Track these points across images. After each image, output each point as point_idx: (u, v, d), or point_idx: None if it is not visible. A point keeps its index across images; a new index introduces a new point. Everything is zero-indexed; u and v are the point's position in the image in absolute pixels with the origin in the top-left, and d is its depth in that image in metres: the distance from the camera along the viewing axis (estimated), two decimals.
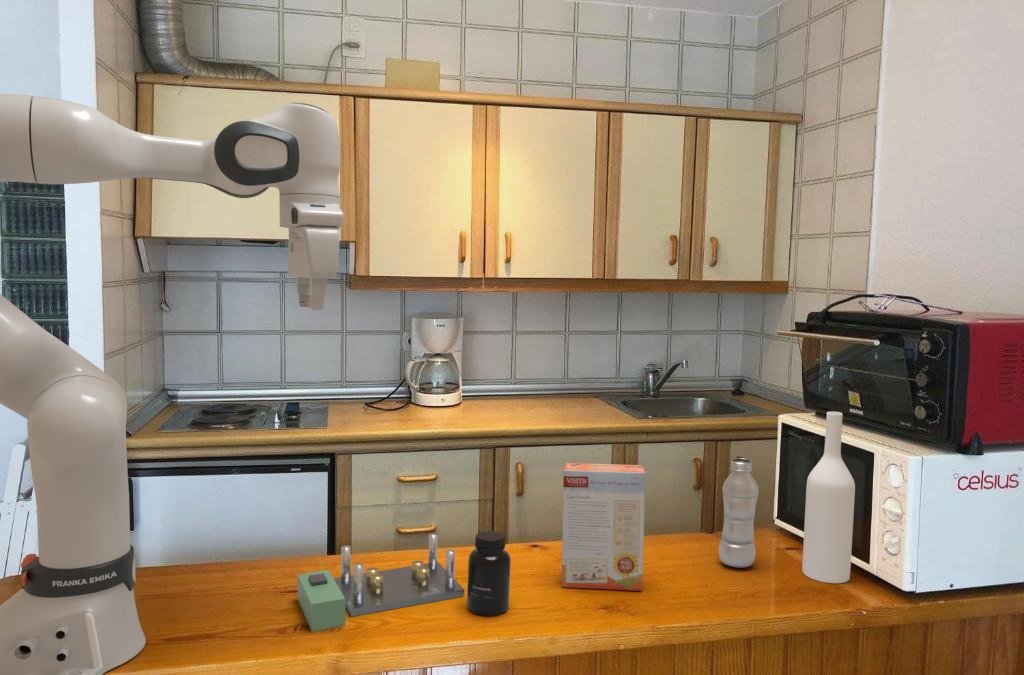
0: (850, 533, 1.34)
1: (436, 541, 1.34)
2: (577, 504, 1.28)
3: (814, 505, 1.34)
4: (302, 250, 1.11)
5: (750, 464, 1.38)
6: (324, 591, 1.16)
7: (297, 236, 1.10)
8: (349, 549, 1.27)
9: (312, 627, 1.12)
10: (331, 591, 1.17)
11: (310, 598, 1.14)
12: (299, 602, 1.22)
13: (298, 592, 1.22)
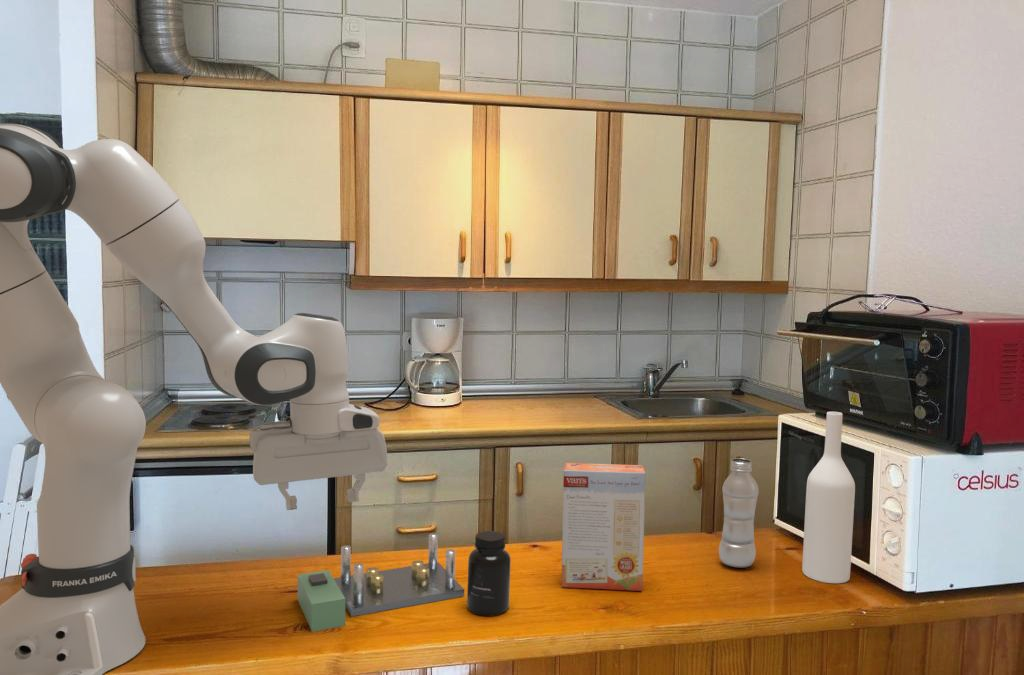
0: (850, 533, 1.34)
1: (436, 541, 1.34)
2: (577, 504, 1.28)
3: (814, 505, 1.34)
4: (336, 451, 1.16)
5: (750, 464, 1.38)
6: (324, 591, 1.16)
7: (337, 439, 1.15)
8: (349, 549, 1.27)
9: (312, 627, 1.12)
10: (331, 591, 1.17)
11: (310, 598, 1.14)
12: (299, 602, 1.22)
13: (298, 592, 1.22)
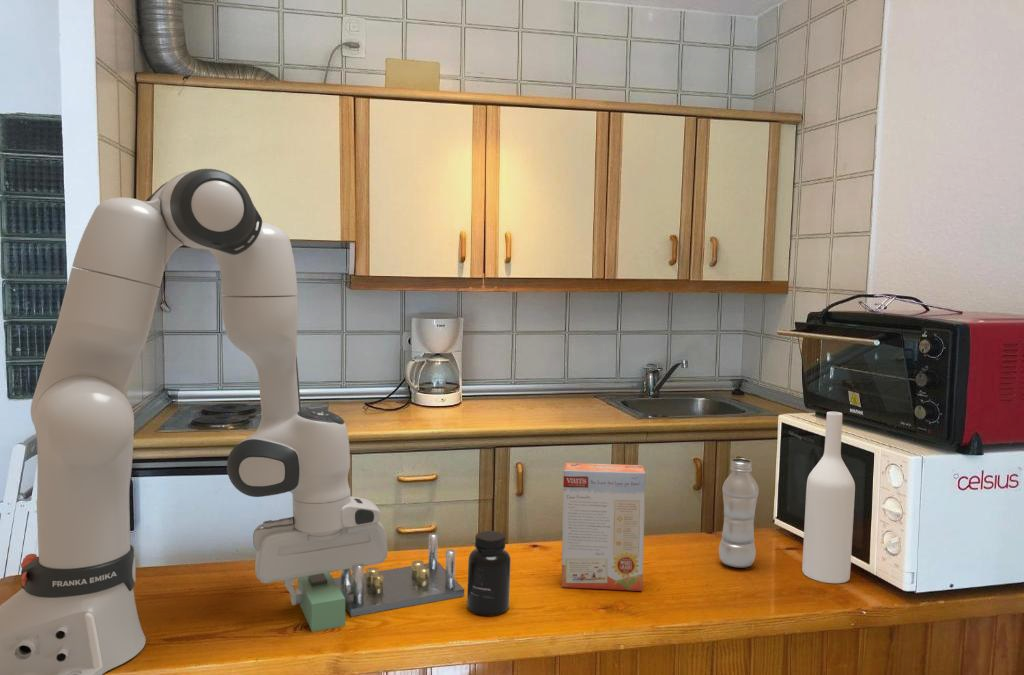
0: (850, 533, 1.34)
1: (436, 541, 1.34)
2: (577, 504, 1.28)
3: (814, 505, 1.34)
4: (337, 546, 1.18)
5: (750, 464, 1.38)
6: (324, 591, 1.16)
7: (339, 535, 1.17)
8: None
9: (312, 627, 1.12)
10: (331, 591, 1.17)
11: (310, 598, 1.14)
12: None
13: None
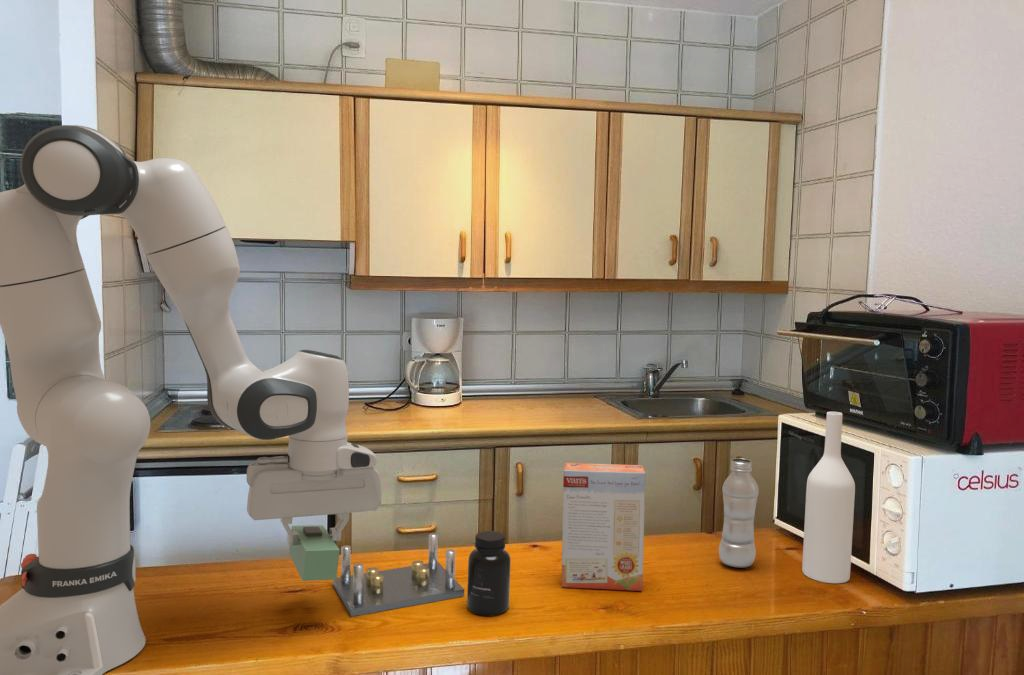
0: (850, 533, 1.34)
1: (436, 541, 1.34)
2: (577, 504, 1.28)
3: (814, 505, 1.34)
4: (331, 489, 1.16)
5: (750, 464, 1.38)
6: (318, 542, 1.15)
7: (334, 477, 1.16)
8: (349, 549, 1.27)
9: (304, 574, 1.11)
10: (325, 542, 1.15)
11: (304, 546, 1.13)
12: (290, 553, 1.20)
13: None
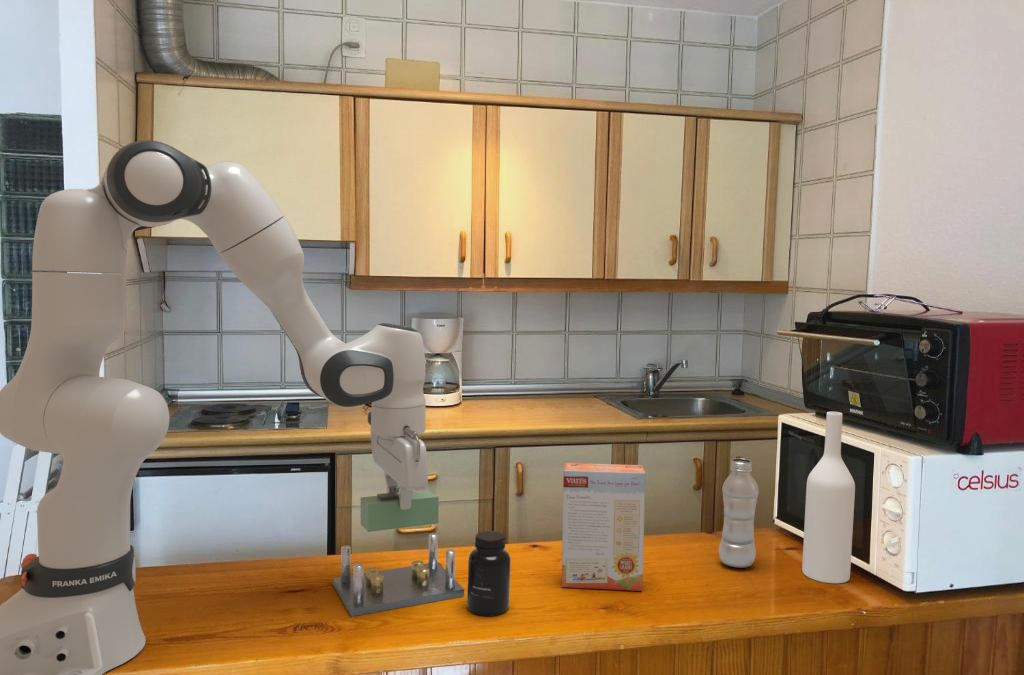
0: (850, 533, 1.34)
1: (436, 541, 1.34)
2: (577, 504, 1.28)
3: (814, 505, 1.34)
4: None
5: (750, 464, 1.38)
6: None
7: None
8: (349, 549, 1.27)
9: (437, 518, 1.27)
10: None
11: (426, 497, 1.26)
12: (378, 527, 1.22)
13: (372, 520, 1.22)
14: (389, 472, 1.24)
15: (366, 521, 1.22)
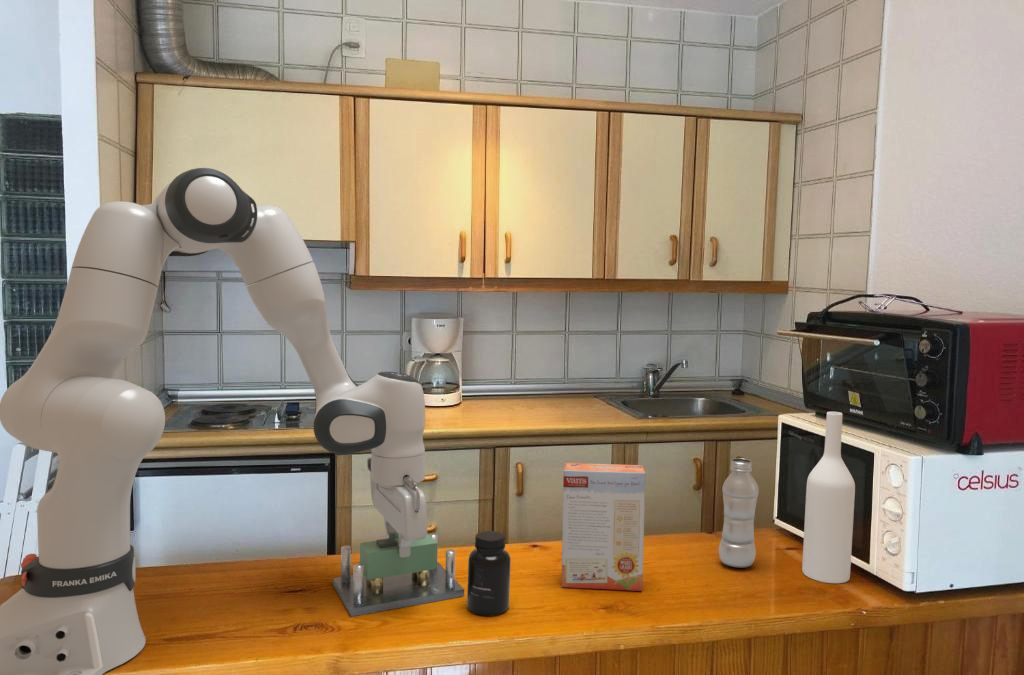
0: (850, 533, 1.34)
1: (436, 541, 1.34)
2: (577, 504, 1.28)
3: (814, 505, 1.34)
4: None
5: (750, 464, 1.38)
6: None
7: None
8: (349, 549, 1.27)
9: (436, 563, 1.27)
10: None
11: (425, 544, 1.26)
12: (377, 575, 1.23)
13: (371, 568, 1.22)
14: (389, 520, 1.25)
15: (365, 569, 1.23)
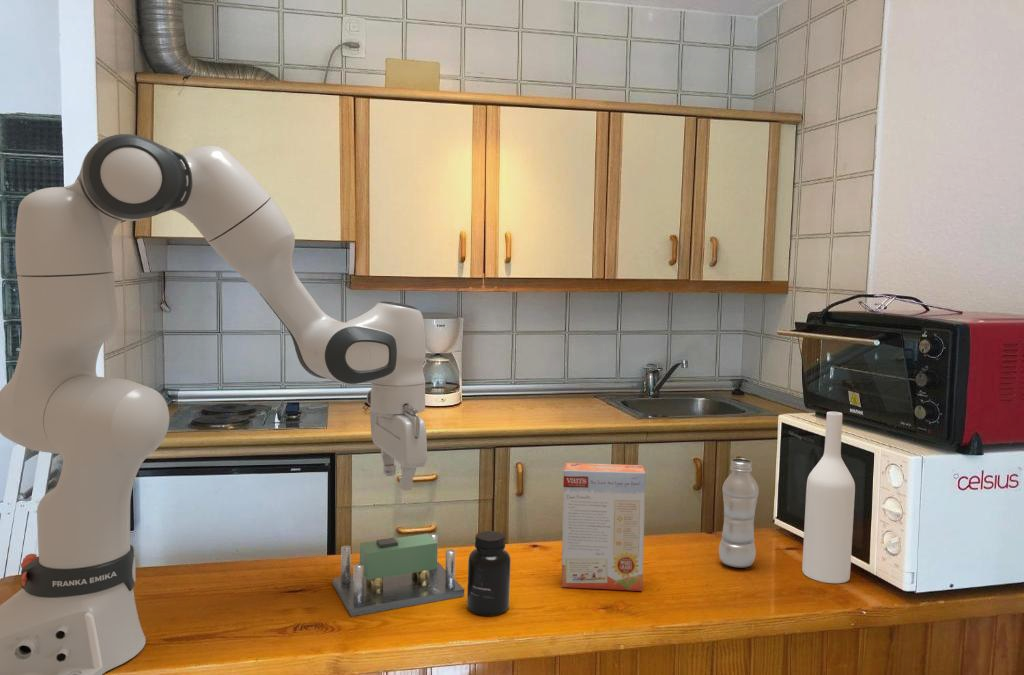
0: (850, 533, 1.34)
1: (436, 541, 1.34)
2: (577, 504, 1.28)
3: (814, 505, 1.34)
4: None
5: (750, 464, 1.38)
6: (411, 540, 1.28)
7: None
8: (349, 549, 1.27)
9: (436, 563, 1.27)
10: (411, 538, 1.29)
11: (425, 544, 1.26)
12: (377, 575, 1.23)
13: (371, 568, 1.22)
14: (388, 451, 1.24)
15: (365, 569, 1.23)
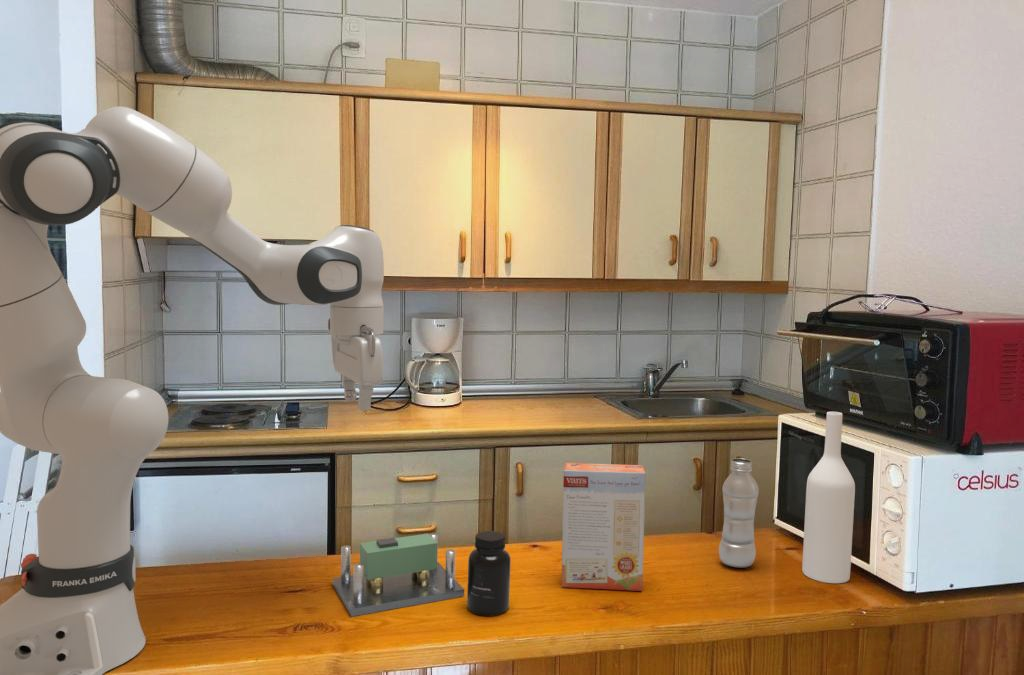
0: (850, 533, 1.34)
1: (436, 541, 1.34)
2: (577, 504, 1.28)
3: (814, 505, 1.34)
4: None
5: (750, 464, 1.38)
6: (411, 540, 1.28)
7: None
8: (349, 549, 1.27)
9: (436, 563, 1.27)
10: (411, 538, 1.29)
11: (425, 544, 1.26)
12: (377, 575, 1.23)
13: (371, 568, 1.22)
14: (347, 373, 1.26)
15: (365, 569, 1.23)
